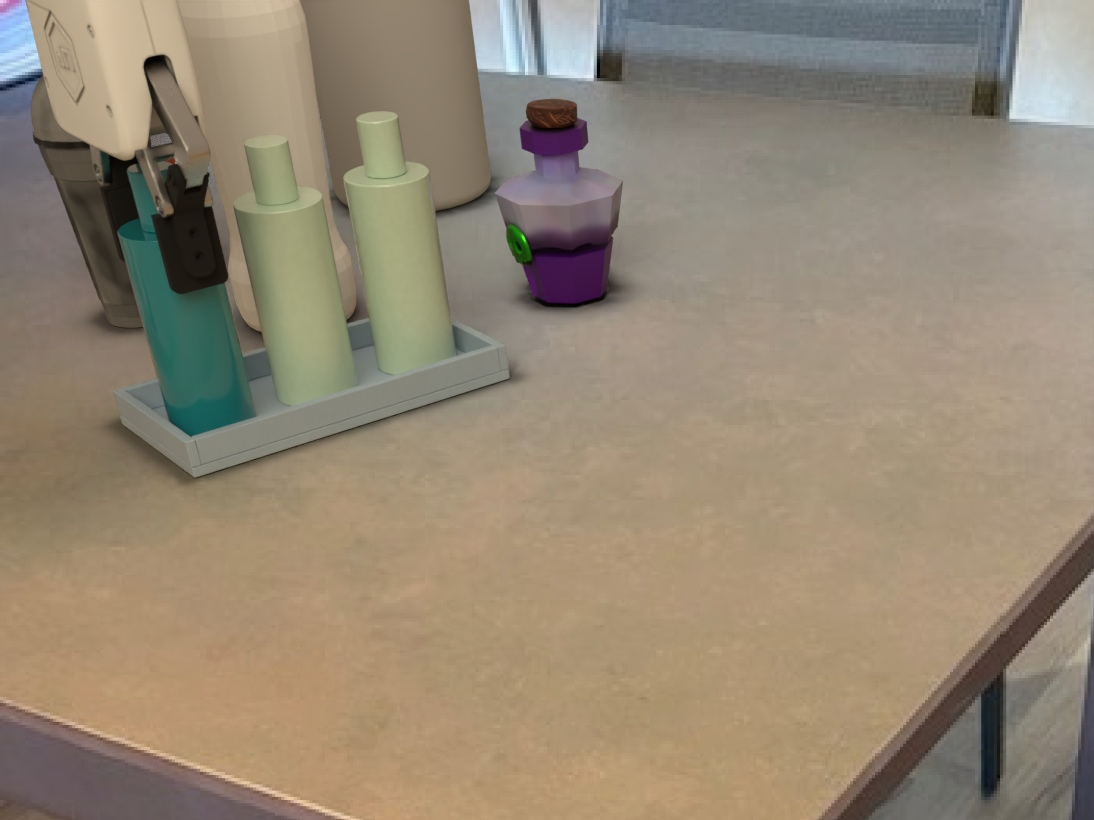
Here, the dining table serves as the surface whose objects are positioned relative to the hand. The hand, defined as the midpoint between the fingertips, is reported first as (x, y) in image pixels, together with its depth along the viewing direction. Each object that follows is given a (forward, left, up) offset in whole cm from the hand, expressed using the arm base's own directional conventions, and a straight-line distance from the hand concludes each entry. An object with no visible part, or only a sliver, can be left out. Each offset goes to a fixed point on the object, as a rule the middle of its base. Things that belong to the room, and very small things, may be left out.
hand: (173, 269), depth 91 cm
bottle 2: (+7, 0, -9) cm, 11 cm away
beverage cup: (+5, +22, -10) cm, 24 cm away
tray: (+7, 0, -9) cm, 12 cm away
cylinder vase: (+33, +33, -10) cm, 48 cm away
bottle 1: (+13, +14, -10) cm, 21 cm away
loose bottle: (0, 0, -9) cm, 9 cm away
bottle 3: (+14, 0, -9) cm, 16 cm away
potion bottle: (+29, +5, -10) cm, 31 cm away
